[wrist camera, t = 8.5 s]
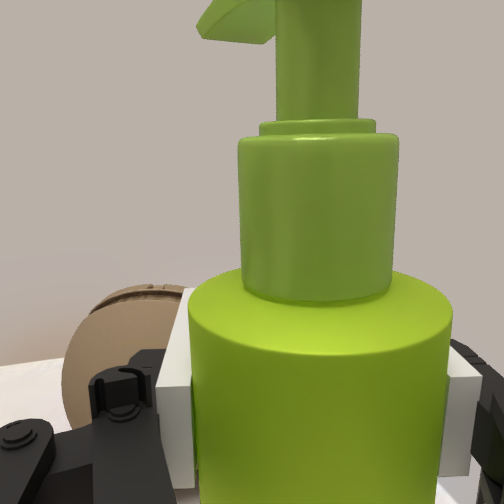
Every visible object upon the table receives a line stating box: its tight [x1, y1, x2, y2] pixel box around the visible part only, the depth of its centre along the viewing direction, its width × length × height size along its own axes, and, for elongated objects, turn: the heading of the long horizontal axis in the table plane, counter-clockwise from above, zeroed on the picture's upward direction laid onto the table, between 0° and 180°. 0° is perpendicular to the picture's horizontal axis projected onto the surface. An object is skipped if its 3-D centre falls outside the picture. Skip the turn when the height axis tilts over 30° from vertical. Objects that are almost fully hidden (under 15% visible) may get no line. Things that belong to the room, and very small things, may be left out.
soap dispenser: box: [187, 0, 453, 504], centre depth 11 cm, size 6×7×20 cm
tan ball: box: [61, 284, 198, 469], centre depth 35 cm, size 15×15×15 cm
